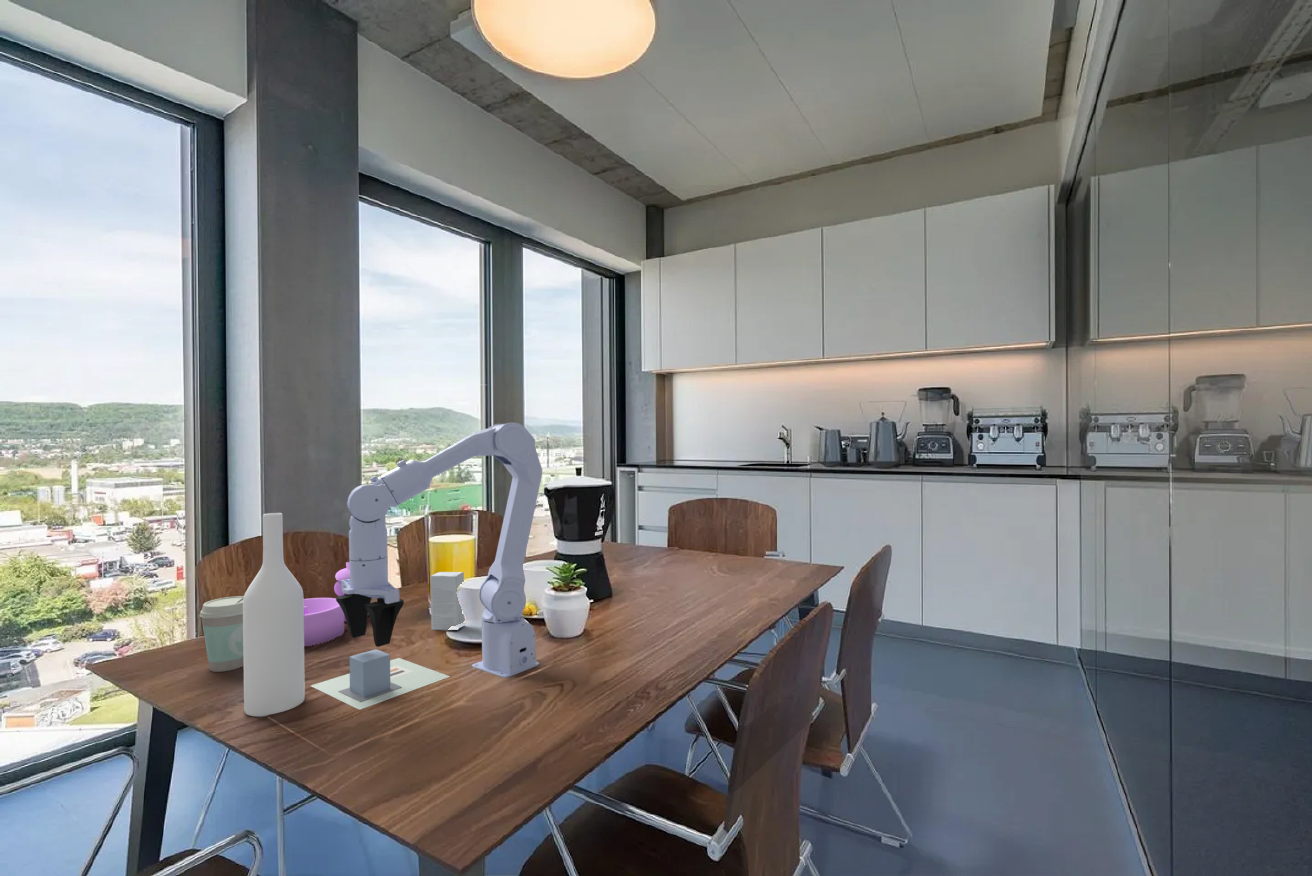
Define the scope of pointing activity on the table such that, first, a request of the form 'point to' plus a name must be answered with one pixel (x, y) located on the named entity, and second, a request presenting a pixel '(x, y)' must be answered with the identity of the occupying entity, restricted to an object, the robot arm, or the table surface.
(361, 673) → the blue-grey rectangular block
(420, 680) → the mat
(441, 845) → the table surface
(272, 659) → the bottle
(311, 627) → the container set
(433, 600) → the skincare box
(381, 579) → the robot arm
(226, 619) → the coffee cup
